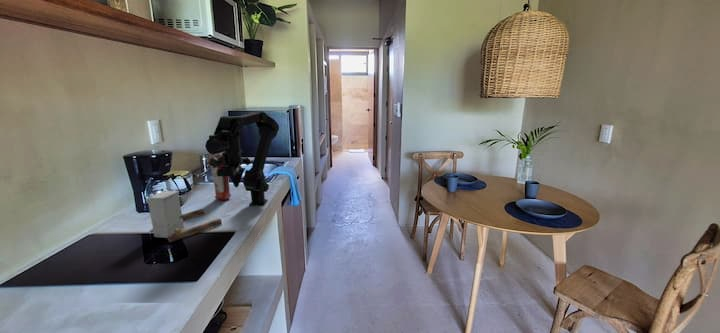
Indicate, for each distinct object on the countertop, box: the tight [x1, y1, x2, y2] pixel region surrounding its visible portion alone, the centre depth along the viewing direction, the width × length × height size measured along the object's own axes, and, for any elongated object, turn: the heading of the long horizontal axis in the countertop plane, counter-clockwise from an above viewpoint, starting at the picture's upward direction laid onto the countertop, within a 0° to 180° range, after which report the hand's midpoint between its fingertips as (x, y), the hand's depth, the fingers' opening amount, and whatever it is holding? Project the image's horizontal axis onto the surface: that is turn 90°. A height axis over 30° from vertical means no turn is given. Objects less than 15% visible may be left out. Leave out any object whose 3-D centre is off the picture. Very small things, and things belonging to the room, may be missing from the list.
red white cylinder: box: [210, 152, 232, 201], centre depth 139 cm, size 7×7×28 cm
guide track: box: [167, 208, 222, 243], centre depth 115 cm, size 18×16×4 cm
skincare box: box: [146, 190, 185, 239], centre depth 109 cm, size 8×6×15 cm
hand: (236, 186), depth 123 cm, fingers closed
